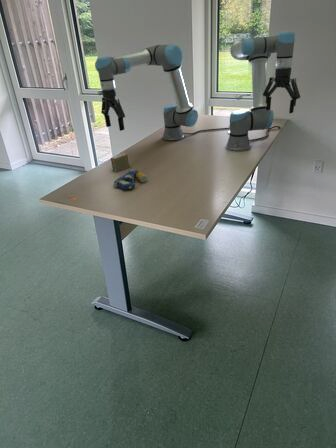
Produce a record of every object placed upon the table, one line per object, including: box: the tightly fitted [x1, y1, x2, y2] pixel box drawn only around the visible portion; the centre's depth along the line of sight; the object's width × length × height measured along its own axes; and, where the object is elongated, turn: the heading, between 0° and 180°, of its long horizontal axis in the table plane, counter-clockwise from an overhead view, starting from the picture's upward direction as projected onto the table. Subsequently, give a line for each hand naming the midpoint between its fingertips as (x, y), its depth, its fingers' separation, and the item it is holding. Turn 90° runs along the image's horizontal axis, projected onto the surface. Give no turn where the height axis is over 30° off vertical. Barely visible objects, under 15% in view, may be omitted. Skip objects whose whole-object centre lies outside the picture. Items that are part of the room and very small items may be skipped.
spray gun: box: [112, 168, 148, 191], centre depth 183 cm, size 21×4×15 cm
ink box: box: [110, 152, 130, 173], centre depth 201 cm, size 10×4×8 cm, turn 131°
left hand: (115, 128), depth 191 cm, fingers open, 13 cm apart
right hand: (279, 111), depth 176 cm, fingers open, 13 cm apart
